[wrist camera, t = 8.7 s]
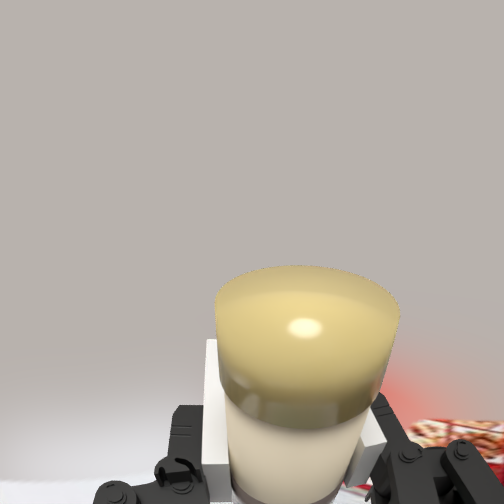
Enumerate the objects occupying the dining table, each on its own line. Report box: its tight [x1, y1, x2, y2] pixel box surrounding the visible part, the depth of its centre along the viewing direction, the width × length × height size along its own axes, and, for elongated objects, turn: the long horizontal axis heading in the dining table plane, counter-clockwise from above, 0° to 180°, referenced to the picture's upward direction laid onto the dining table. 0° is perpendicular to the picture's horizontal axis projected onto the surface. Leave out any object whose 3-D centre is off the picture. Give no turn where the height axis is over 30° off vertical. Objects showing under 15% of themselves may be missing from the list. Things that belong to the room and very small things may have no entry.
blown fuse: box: [215, 265, 400, 504], centre depth 10 cm, size 4×4×15 cm
